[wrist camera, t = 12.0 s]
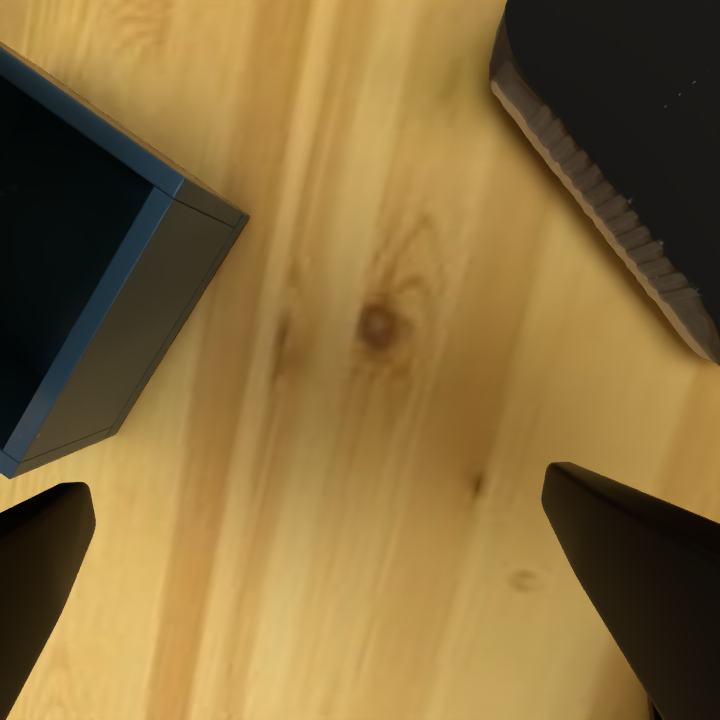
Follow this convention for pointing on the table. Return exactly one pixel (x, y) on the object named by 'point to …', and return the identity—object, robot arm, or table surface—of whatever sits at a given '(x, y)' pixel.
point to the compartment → (88, 265)
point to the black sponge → (629, 134)
